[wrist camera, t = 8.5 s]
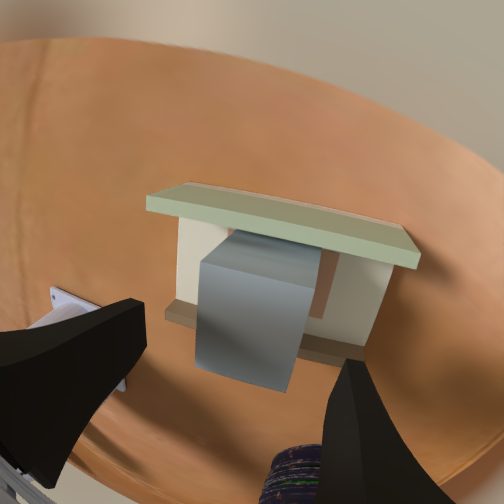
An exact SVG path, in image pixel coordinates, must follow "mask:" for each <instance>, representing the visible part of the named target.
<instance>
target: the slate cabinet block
mask: <svg viewBox="0 0 504 504" xmlns="http://www.w3.org/2000/svg"><path fill="white" fill-rule="evenodd" d="M321 251H322V247H317V246H313V245H308V244H304V243H299V242H295V241H290V240H286V239H281V238H277V237H272V236H268V235H263V234H258V233H254V232H249V231H244V230H240V229H236V230H235V231H234V232H233V233H232V234H230V235H229V236H228V237H227V238H226V239H225V240H224V241H223V242H221V243H220V244H219V245H218V246H217V247H216V248H215V249H214V250H212V251H211V252H210V253H209V254H208V255H207V256H206V257H205V258H203V259H202V260H201V261H200V270H199V286H198V303H197V323H196V347H195V367H198V368H201V369H204V370H207V371H210V372H213V373H216V374H219V375H222V376H226V377H229V378H232V379H236V380H239V381H242V382H246V383H249V384H253V385H257V386H260V387H264V388H268V389H272V390H276V391H280V392H284V393H286V390H287V387H288V383H289V380H290V377H291V374H292V370H293V367H294V364H295V360H296V357H297V354H298V350H299V347H300V343H301V340H302V336H303V333H304V329H305V325H306V322H307V318H308V314H309V311H310V307H311V303H312V299H313V295H314V291H315V287H316V281H317V275H318V269H319V263H320V257H321Z"/></svg>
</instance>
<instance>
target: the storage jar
mask: <svg viewBox="0 0 504 504" xmlns="http://www.w3.org/2000/svg"><path fill="white" fill-rule="evenodd" d="M321 449H322V444H310V445H301V446H296V447H292V448H288V449H286V450H284V451H282V452H280V453H278V454H277V455H276V456H275V457H274V459H273V461H272V465H271V471H270V472H269V475H268V478H267V479H266V481H265V483H264V486H263V490H262V495H261V496H260V498H259V504H313V503H314V499H315V495H316V491H317V485H318V479H319V470H320V460H321Z"/></svg>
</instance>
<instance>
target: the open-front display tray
mask: <svg viewBox="0 0 504 504" xmlns="http://www.w3.org/2000/svg"><path fill="white" fill-rule="evenodd" d="M146 210H147V211H152V212H157V213H162V214H167V215H172V216H177V217H179V231H178V251H177V279H176V299H175V300H174V301H173V302H172V303H171V304H170V305H169V306H168V307H167V308H166V309H165V320H168V321H171V322H174V323H177V324H180V325H183V326H186V327H189V328H192V329H195V330H196V323H197V303H198V286H199V270H200V261H201V260H202V259H203V258H205V257H206V256H207V255H208V254H209V253H210V252H211V251H212V250H214V249H215V248H216V247H217V246H218V245H219V244H220V243H221V242H223V241H224V240H225V239H226V238H227V237H228V236H229V235H230V234H232V233H233V232H234V231H235V230H236V229H240V230H244V231H249V232H254V233H258V234H263V235H268V236H272V237H277V238H281V239H286V240H290V241H295V242H299V243H304V244H308V245H313V246H317V247H322V251H321V257H320V263H319V269H318V275H317V281H316V287H315V291H314V295H313V299H312V303H311V307H310V311H309V314H308V318H307V322H306V325H305V329H304V333H303V336H302V340H301V343H300V347H299V350H298V354H297V358H301V359H305V360H309V361H314V362H318V363H323V364H328V365H332V366H337V367H343V365H344V362H345V360H346V358H349V359H354V360H359V361H364V363H365V347H364V346H365V344H366V342H367V339H368V337H369V334H370V332H371V329H372V327H373V324H374V322H375V319H376V316H377V314H378V311H379V308H380V305H381V303H382V300H383V297H384V294H385V291H386V288H387V286H388V283H389V280H390V277H391V274H392V270H393V267H394V264H395V265H399V266H403V267H407V268H411V269H415V270H416V268H417V265H418V262H419V259H420V256H421V253H420V251H419V250H418V248H417V247H416V245H415V244H414V243H413V241H412V240H411V238H410V237H409V236H408V234H407V233H406V231H405V230H404V229H403V227H402V226H401V225H399V224H395V223H391V222H387V221H383V220H379V219H375V218H371V217H367V216H363V215H359V214H354V213H350V212H346V211H341V210H337V209H332V208H328V207H323V206H319V205H314V204H309V203H305V202H300V201H295V200H290V199H285V198H280V197H275V196H270V195H265V194H259V193H254V192H249V191H243V190H237V189H232V188H226V187H220V186H214V185H208V184H202V183H196V182H187V183H183V184H180V185H177V186H174V187H171V188H168V189H164V190H161V191H158V192H155V193H152V194H149V195H147V197H146Z"/></svg>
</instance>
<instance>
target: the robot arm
mask: <svg viewBox="0 0 504 504" xmlns="http://www.w3.org/2000/svg"><path fill="white" fill-rule="evenodd" d="M50 295H51V300H52V305H53V309H54V310H52V311H51V312H50V313H48V314H47V315H45V316H44V317H42V318H41V319H40V320H38V321H37V322H35V323H34V324H33V325H31V326H30V327H28V328H27V329H24V330H16V331H8V332H0V504H20V503H19V502H18V501H17V500H16V492H17V493H18V494H19V495H20V496H21V497H22V498H23V499H25V500H26V501H27V502H28V503H29V504H56V503H55V502H53V501H52V500H50V498H48V497H47V496H46V495H44V494H43V493H42V492H41V491H39V490H38V489H37V488H36V487H34V486H33V485H32V484H31V483H30V482H31V481H34V480H36V481H37V482H38V483H39V484H41V485H42V486H43V487H44V488H46V489H52V488H55V485H56V483H57V480H58V478H59V476H60V473H61V471H62V469H63V467H64V464H65V462H66V460H67V458H68V456H69V455H70V453H71V451H72V449H73V447H74V445H75V443H76V442H77V440H78V438H79V437H80V435H81V433H82V431H83V430H84V428H85V427H86V425H87V424H88V422H89V421H90V419H91V418H92V416H93V415H94V414H95V413H96V411H97V410H98V409H99V408H100V407H101V406H102V405H103V403H104V402H105V401H106V400H107V399H108V398H109V396H110V395H111V394H112V393H113V392H114V391H115V390H116V389H117V390H119V391H122V392H124V391H125V390H126V385H125V379H124V378H125V376H126V375H127V374H128V373H129V372H130V371H131V369H132V368H133V367H134V366H135V364H136V363H137V361H138V360H139V358H140V357H141V355H142V353H143V352H144V350H145V348H146V347H147V339H146V324H145V307H144V302H141V301H138V300H135V299H132V298H129V299H125V300H122V301H119V302H116V303H113V304H110V305H107V306H105V307H99V306H97V305H94V304H92V303H90V302H87V301H85V300H83V299H81V298H78V297H76V296H74V295H72V294H69V293H67V292H65V291H63V290H61V289H59V288H56V287H54V286H53V287H51V288H50ZM14 490H15V491H16V492H15V491H14ZM313 504H456V503H455V502H453V501H452V500H451V499H450V498H449V497H448V496H447V495H446V494H445V493H444V492H443V491H442V490H441V489H440V488H439V487H438V485H437V484H436V483H435V482H434V481H433V480H432V479H431V478H430V476H429V475H428V474H427V473H426V472H425V470H424V469H423V468H422V467H421V465H420V464H419V463H418V462H417V460H416V459H415V458H414V456H413V455H412V453H411V452H410V450H409V449H408V447H407V446H406V444H405V443H404V441H403V440H402V438H401V436H400V435H399V433H398V431H397V429H396V428H395V426H394V424H393V422H392V420H391V419H390V417H389V415H388V413H387V411H386V409H385V407H384V405H383V403H382V401H381V398H380V396H379V394H378V392H377V390H376V388H375V385H374V383H373V381H372V379H371V376H370V374H369V372H368V369H367V367H366V365H365V363H364V361H359V360H354V359H349V358H346V360H345V362H344V365H343V367H342V369H341V372H340V374H339V376H338V379H337V381H336V383H335V386H334V388H333V390H332V392H331V395H330V397H329V399H328V404H327V409H326V414H325V420H324V425H323V437H322V449H321V460H320V470H319V479H318V485H317V491H316V495H315V499H314V503H313Z"/></svg>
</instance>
